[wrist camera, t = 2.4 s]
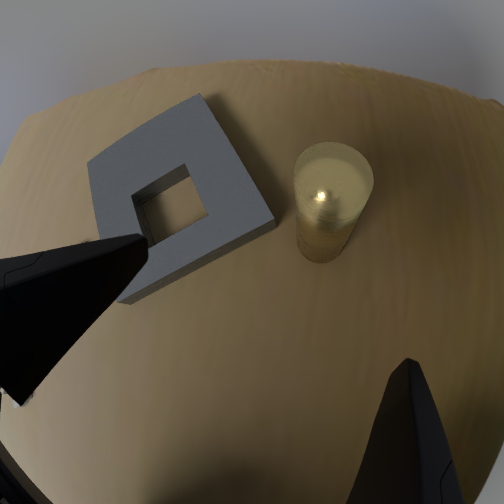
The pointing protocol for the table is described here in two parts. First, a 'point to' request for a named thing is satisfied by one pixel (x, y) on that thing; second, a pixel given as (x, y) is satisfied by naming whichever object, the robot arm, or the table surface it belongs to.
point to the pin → (329, 197)
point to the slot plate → (166, 175)
